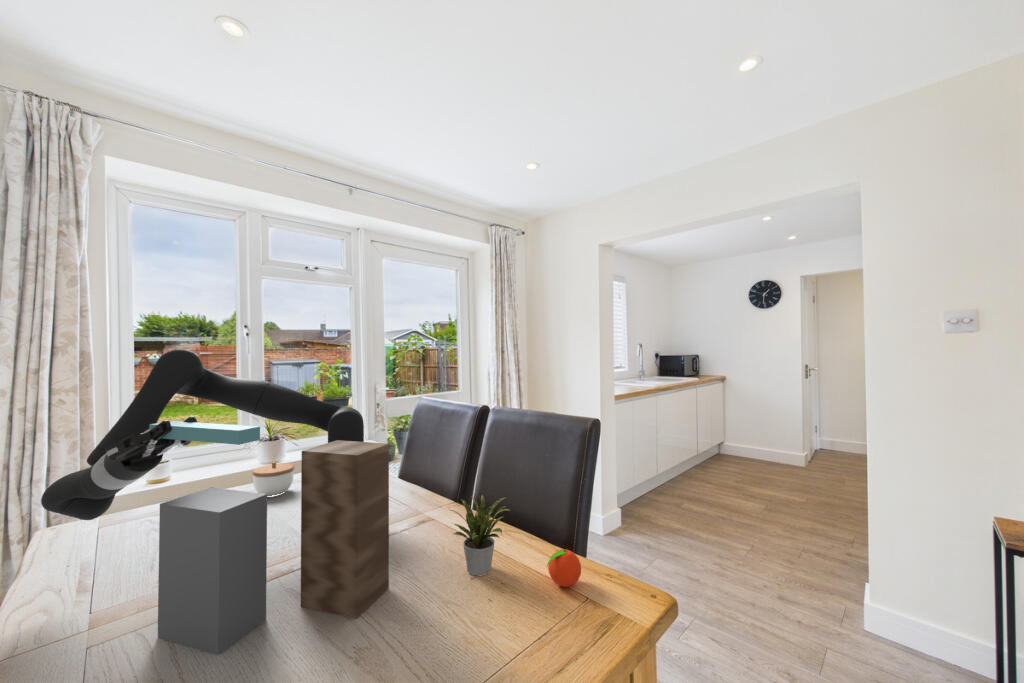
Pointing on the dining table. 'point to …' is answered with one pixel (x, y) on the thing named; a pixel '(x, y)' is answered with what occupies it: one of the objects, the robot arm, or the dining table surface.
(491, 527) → the house plant
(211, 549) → the block
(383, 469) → the stand
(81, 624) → the dining table surface
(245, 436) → the block
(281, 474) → the lidded bowl
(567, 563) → the clementine
